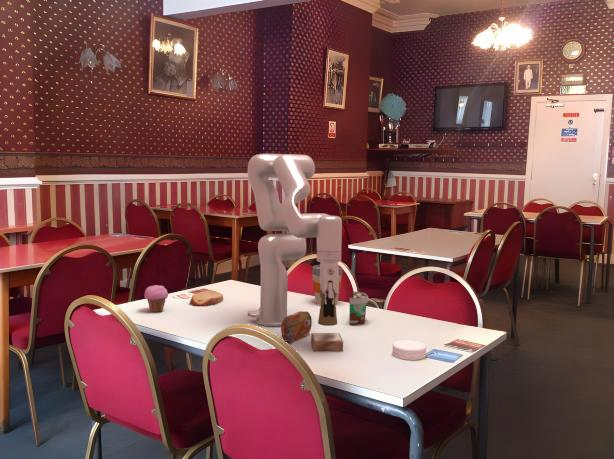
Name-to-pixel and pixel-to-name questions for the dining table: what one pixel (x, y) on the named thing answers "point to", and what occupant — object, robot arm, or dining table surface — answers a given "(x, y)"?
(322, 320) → the cork
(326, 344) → the plinth
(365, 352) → the dining table surface
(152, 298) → the cupcake
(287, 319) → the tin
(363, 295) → the food container
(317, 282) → the reusable coffee cup
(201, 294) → the bread slice
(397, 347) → the white round disc
